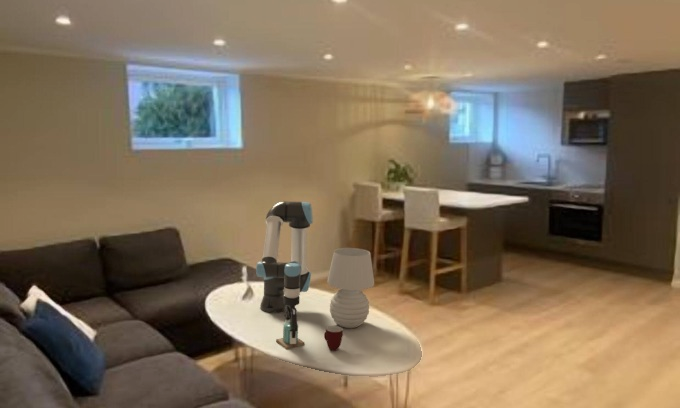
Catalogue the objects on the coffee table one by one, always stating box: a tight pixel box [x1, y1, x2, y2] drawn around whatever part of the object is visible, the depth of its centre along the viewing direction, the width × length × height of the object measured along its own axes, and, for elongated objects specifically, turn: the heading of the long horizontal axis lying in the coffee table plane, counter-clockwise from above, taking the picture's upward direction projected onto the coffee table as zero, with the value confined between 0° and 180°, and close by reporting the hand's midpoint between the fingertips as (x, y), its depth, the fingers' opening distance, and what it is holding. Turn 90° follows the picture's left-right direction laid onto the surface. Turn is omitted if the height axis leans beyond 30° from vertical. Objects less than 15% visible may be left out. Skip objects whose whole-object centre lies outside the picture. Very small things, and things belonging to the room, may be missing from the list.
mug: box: [323, 325, 344, 352], centre depth 245 cm, size 11×8×10 cm
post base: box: [275, 337, 305, 350], centre depth 249 cm, size 10×10×7 cm
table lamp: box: [326, 247, 375, 329], centre depth 275 cm, size 25×25×40 cm
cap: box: [282, 322, 299, 344], centre depth 248 cm, size 7×7×8 cm
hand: (290, 338), depth 249 cm, fingers open, 13 cm apart
